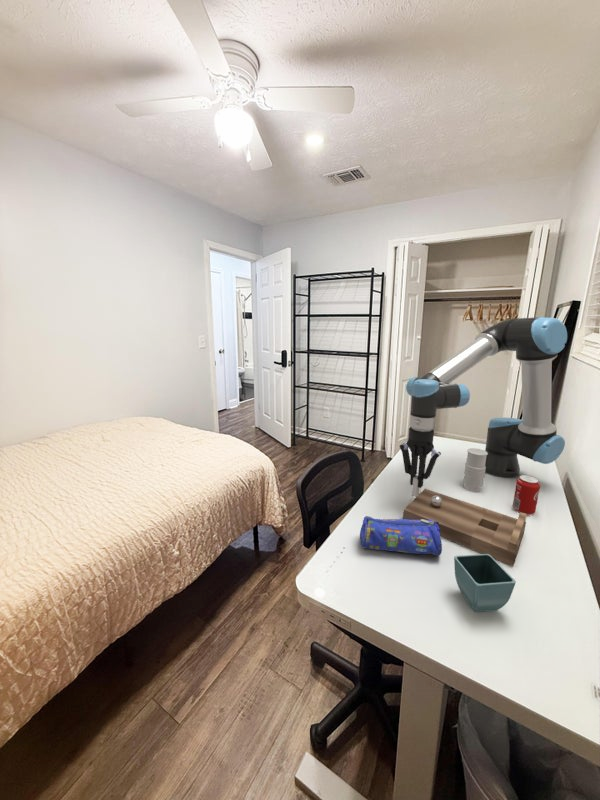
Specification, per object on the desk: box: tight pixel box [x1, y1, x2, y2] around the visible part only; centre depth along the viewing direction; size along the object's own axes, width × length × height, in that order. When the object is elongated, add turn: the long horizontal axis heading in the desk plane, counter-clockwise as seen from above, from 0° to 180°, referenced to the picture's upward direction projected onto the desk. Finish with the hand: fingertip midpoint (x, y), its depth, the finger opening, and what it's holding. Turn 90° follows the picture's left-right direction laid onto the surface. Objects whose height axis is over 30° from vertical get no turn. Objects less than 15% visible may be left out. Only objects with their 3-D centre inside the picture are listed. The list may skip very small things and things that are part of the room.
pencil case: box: [359, 515, 443, 557], centre depth 88 cm, size 22×9×10 cm, turn 83°
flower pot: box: [453, 553, 517, 613], centre depth 71 cm, size 9×9×9 cm
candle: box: [463, 447, 488, 493], centre depth 120 cm, size 7×7×15 cm
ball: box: [431, 495, 443, 507], centre depth 102 cm, size 4×4×4 cm
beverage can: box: [512, 475, 541, 517], centre depth 105 cm, size 6×6×12 cm
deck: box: [402, 488, 527, 567], centre depth 98 cm, size 18×30×6 cm, turn 48°
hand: (415, 494), depth 107 cm, fingers closed
